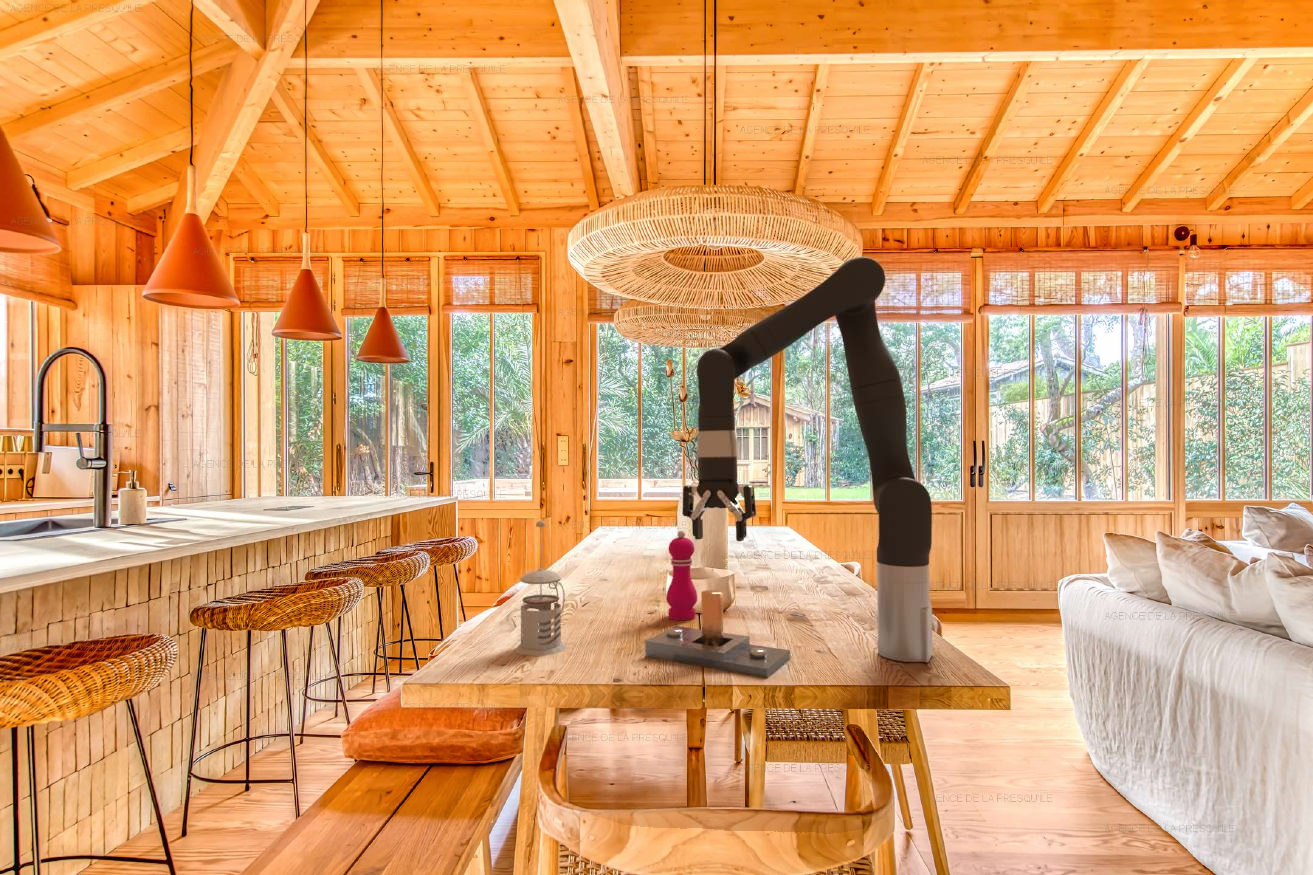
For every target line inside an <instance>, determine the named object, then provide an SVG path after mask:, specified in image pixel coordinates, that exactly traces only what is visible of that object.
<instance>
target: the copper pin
mask: <svg viewBox="0 0 1313 875" xmlns="http://www.w3.org/2000/svg"><path fill="white" fill-rule="evenodd" d="M700 596H701V597H700V598H701V599H700V600H701V603H700V604H701V630H702V644H703V645H710V646H716V647H721V646H723V633H724V591H721V590H715V589H714V590H713V589H708V590H707V589H706V590H702V591H701V594H700Z"/></svg>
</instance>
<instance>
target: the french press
mask: <svg viewBox="0 0 1313 875" xmlns="http://www.w3.org/2000/svg"><path fill="white" fill-rule="evenodd" d="M535 527H538V528H540V529H539V535H540V536H539V542H540V543H539V544H540V545H539V546H540V548H539V552H540V553H539V558H540V560H539V562H540V563H539V565H540V567H539V569H537V570H531V571H528V572H527V573H525V574H524V575H523V576H521V577H520V578H519V580H520V582H521V583H523V584H527V585H540V588H539V589H540V590H539V591H540V592H539V594H533V595H532V594H531V595H527V596H525V597H523V598H522V602H523V603H524V604H523V605H521V606H520V627H521V628H520V640H521V641H520V643H519V644H518V645H517V647H516V648H515V652H517V653H518V654H521V655H525V656H533V657H534V656H535V657H537V656H549V655H554V654H558V653H560V652H562V651H564V650H566V646H567V645H566V644H565V643H564V642H563V641H562V635H561V634H562V629H561V626H562V625H561V622H562V621H561V620H562V618H561V617H562V616H561V615H562V612H563V611H564V606H565V590H564V586H563V585H562V583H561V582H560V581H561V580H562V576H561V575H560V574H558V573H557V572H556V571H552V570H550V569H543V568H542V528H543V527H546V521H544V520H538V521H537V522H536V523H535ZM547 584H548V588H549V589H551V590H556V595H554V594H547V593H546V594H542V585H547ZM551 584H553V585H554V587H551ZM557 584H559V585H560V587H561V589H562V595H563V599H562V600H563V601H562V606H561V604H560V603H559V600H560V597H559V591H558V587H557V586H558V585H557ZM552 604H553V609H552ZM529 609H535V610H529ZM552 620H553V621H552ZM552 627H553V628H552ZM552 634H553V635H552Z"/></svg>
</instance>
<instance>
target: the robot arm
mask: <svg viewBox="0 0 1313 875" xmlns="http://www.w3.org/2000/svg"><path fill="white" fill-rule="evenodd" d="M885 283H886V274H885V270H884V267H883V266H882V265H881V263H879V262H878V261H877V260H875V259H873V258H871V257H868V256H856V257H853V258H850V259H848V260H846V261H845V262H844V263H842V264H841V265H840V266H839V267H838V268H837V269H836V271H833V273H832V274H831V275H830V276H828V278H826V279H825V280H823V281H822V282H821V283H820V284H818V285H817V286H816V287H815V288H812V290H810V291H809V292H807V293H806V294H804V295H803V296H801V297H799V298H798V299H796V300H795V301H793V302H791V303H789V304H788V305H786V306H785V307H782V308H781V309H779V310H777V311H776V312H774V313H772V314H770V315H768V316H767V317H765V318H763V319H762V320H760V321H758V322H756V323H755V324H753V325H751V326H750V327H748V328H747V329H744V331H742V332H741V333H739V334H738V335H737V336H736V337H735V338H734V339H733V340H731V341H730V342H728V343H727V344H725V345H723V346H721V347H720V348H712V349H709V350H707V351H705V352H704V353H703V354H702V355H701V356H700V357H699V360H698V361H697V365H696V376H697V379H698V380H697V385H698V399H699V404H698V411H697V426H698V428H697V429H698V430H697V431H698V433H697V442H696V443H697V445H696V446H697V450H696V454H697V479H698V484H697V485H695V486H694V485H692V484H688V485H684V486H683V487H682V511H681V512H682V515H683V517H687V518H689V519H691V523H692V524H691V528H692V537H694V538H695V540H702V539H703V537H704V535H703V534H704V527H703V526H704V524H703V522H704V521H703V520H704V519H702V518H703V516H704V514H705V513H706V511H708V509H717V508H718V509H727V510H728V511H729V512H730V513H732V514H733V516H734V518H735V520H736V521H735V538H736V542H743V541H744V540H745V539H746V537H747V533H748V532H747V521H748V520H749V519H751V518H755V517H756V515H757V510H756V507H757V506H756V499H755V498H756V496H755V487H754V486H753V485H751V484H749V485H744V486H739V484H738V451H737V448H738V447H737V444H738V443H737V438H736V422H735V419H736V418H735V407H734V398H735V380H737V379H738V378H739V377H740V376H742V375H743V374H745V373H746V372H747V371H749V370H750V369H752V368H754V367H756V366H758V365H760V364H762V363H764V362H766V361H767V360H769V359H770V358H772V357H774V356H776V355H778V354H779V353H780V352H782V351H784V350H785V349H787V348H789V347H790V346H792V345H793V344H794V343H795V342H797V341H799V340H800V339H801V338H802V337H804V336H806V335H807V334H808V333H809V332H810V331H812V330H813V329H815V328H817V327H818V326H820V325H821V324H823V323H824V322H826V321H827V320H829V319H831V318H833V317H835V319H836V322H837V325H838V328H839V332H840V335H841V339H842V343H843V344H842V345H843V350H844V357H845V364H846V368H847V375H848V379H849V386H850V390H851V395H852V401H853V404H854V409H855V413H856V416H857V417H856V418H857V420H858V425H859V428H860V431H861V435H862V436H861V437H862V438H863V442H864V445H865V448H866V451H867V455H868V460H869V465H870V467H869V468H870V474H871V482H872V483H871V484H872V486H871V487H872V496H873V505H874V509H875V510H876V513H877V514H878V543H877V547H876V584H877V586H876V588H877V589H876V590H877V594H876V597H877V605H876V606H877V607H876V609H877V653H878V654H879V656H881V657H883V658H885V659H887V660H892V661H898V662H907V663H920V662H921V663H929V662H930V660H931V658H932V657H933V605H932V603H931V601H930V599H931V598H930V597H931V596H930V593H931V592H930V587H931V586H930V554H931V549H932V544H933V543H932V542H933V540H932V539H933V538H932V537H933V533H932V531H933V530H932V528H933V511H932V508H933V507H932V499H931V495H930V493H929V491H928V489H927V488H926V487H925V485H924V484H923V483H921V482H920V481H918V480H917V479H916V477H915V473H914V471H913V467H912V464H911V460H910V456H909V452H908V445H907V431H908V430H907V427H908V426H907V405H906V398H905V393H904V388H903V383H902V379H901V375H900V372H899V369H898V367H897V365H896V362H895V360H894V358H893V356H892V354H891V352H890V350H889V349H888V347H887V346H886V343H885V342H884V340H883V337H882V335H881V332H880V328H879V324H878V318H877V310H876V300H877V299H878V298H879V296H880V295H881V293H882V292H883V290H884V287H885ZM739 494H740V495H741V497H742V498H743V502H744V504H743V505H744V509H743V508H742V505H741V504H740V503H739V501H738V499H737V496H738V495H739ZM696 495H698V496H699V497H700V500H699V501H698V502H697V504H696V505H695V504H694V500H695V498H694V497H695V496H696ZM694 505H695V506H694ZM694 507H695V508H694Z"/></svg>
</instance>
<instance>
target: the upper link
mask: <svg viewBox="0 0 1313 875" xmlns="http://www.w3.org/2000/svg"><path fill="white" fill-rule="evenodd" d="M750 642H751V641H750V636H749V635H742V634H735V633H734V634H733V633H727V632H723V646H721V647H716V646H710V645H703V644H702V629H699V628H692V627H685V626H678V625H674V626H673V627H669V628H667V629H666V630H664V631H663V632H660V633H657V634H656V635H654V636H653V637H650V638H648V639H646V640H645V642H644V644H645V647H644V648H645V658H650V659H656V660H661V661H662V660H663V661H665V662H666V661H667V662H673V663H675V662H674V654H680V655H686V656H692V657H698V658H704V659H710V660H716V661H722V662H724V661H726V660H727V659H729V658H730V657H732V656H733V655H735V654H736V653H738V652H739V651H740V650H742V649H743V648H745V647H746V646H748V645H749V644H750Z"/></svg>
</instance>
